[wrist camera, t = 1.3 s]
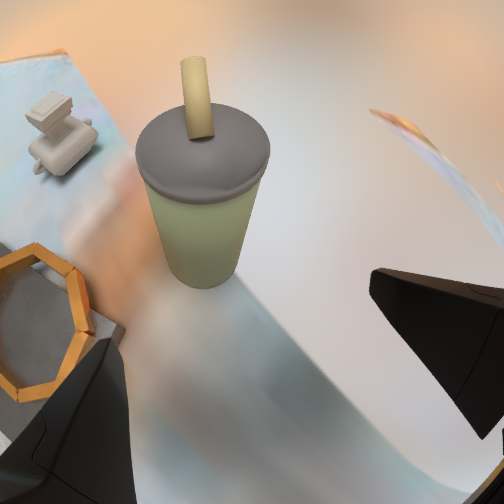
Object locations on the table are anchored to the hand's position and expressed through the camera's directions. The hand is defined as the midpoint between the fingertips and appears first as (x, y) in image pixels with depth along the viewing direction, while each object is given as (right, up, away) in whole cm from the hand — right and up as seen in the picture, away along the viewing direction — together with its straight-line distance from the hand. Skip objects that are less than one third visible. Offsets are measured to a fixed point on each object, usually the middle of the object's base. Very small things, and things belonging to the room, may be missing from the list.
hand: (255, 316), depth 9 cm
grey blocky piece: (-21, +13, +17) cm, 30 cm away
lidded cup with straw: (-4, +2, +15) cm, 16 cm away
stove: (-21, -7, +9) cm, 24 cm away
